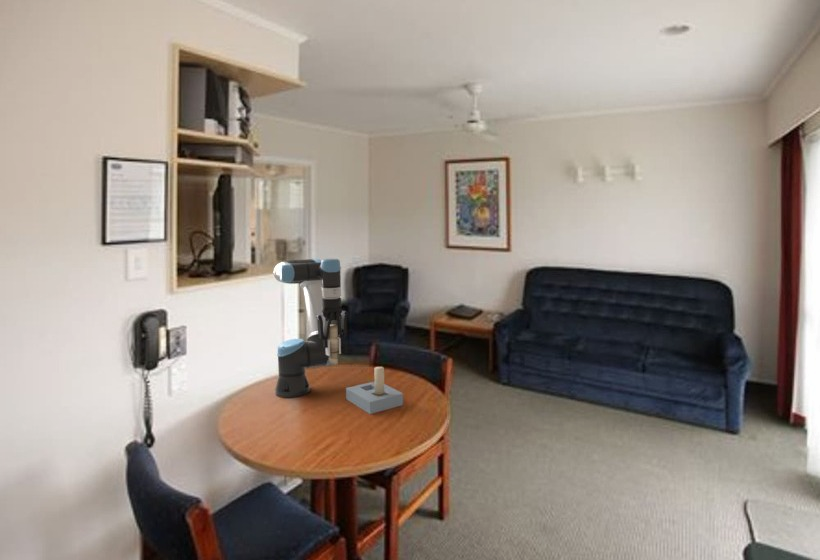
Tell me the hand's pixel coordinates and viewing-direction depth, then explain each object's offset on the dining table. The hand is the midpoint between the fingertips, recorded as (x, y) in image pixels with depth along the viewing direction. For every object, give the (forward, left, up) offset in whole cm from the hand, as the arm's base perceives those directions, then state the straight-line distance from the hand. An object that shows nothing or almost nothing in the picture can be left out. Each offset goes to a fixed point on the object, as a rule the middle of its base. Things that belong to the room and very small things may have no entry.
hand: (333, 353), depth 196 cm
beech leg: (0, 0, -4) cm, 4 cm away
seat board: (+5, +16, -23) cm, 28 cm away
